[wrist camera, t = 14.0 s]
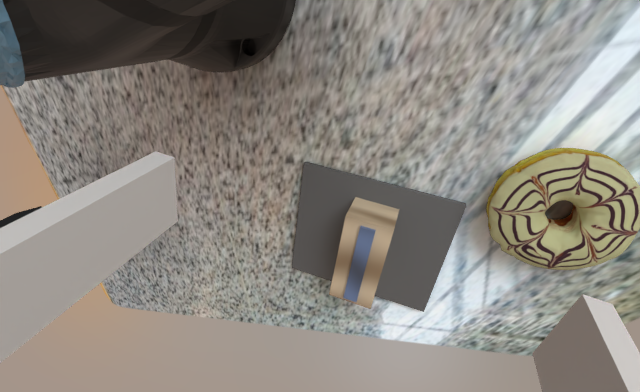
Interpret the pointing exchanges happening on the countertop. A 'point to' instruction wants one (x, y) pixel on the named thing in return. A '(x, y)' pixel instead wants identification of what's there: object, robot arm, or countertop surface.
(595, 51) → the countertop surface
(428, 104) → the countertop surface
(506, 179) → the decorated donut
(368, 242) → the card box
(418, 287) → the mat
